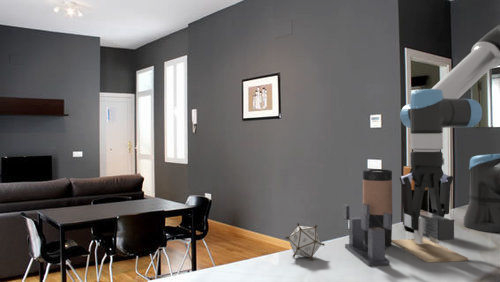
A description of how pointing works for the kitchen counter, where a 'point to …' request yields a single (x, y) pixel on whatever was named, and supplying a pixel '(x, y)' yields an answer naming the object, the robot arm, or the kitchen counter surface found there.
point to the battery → (425, 196)
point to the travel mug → (378, 199)
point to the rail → (433, 225)
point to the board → (429, 251)
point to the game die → (305, 241)
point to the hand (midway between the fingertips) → (426, 242)
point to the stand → (376, 237)
